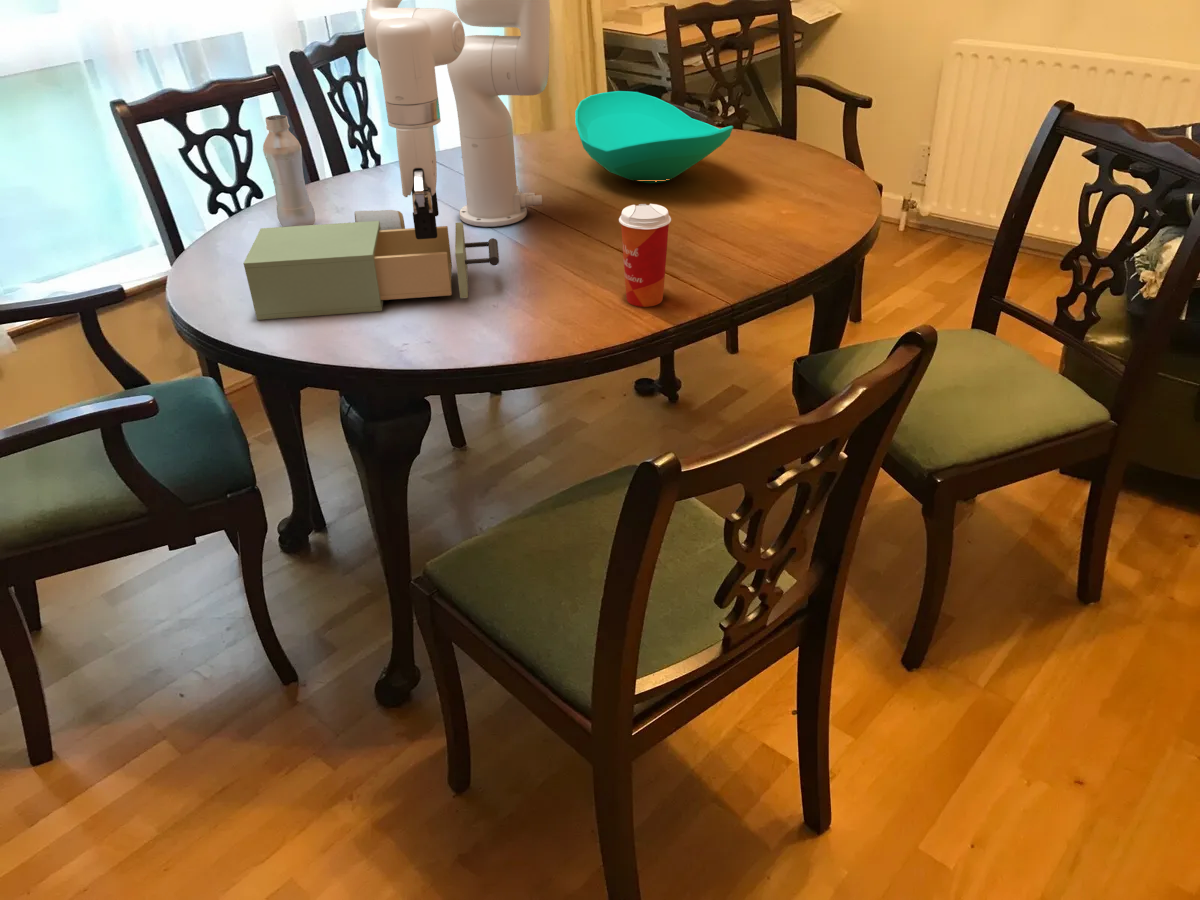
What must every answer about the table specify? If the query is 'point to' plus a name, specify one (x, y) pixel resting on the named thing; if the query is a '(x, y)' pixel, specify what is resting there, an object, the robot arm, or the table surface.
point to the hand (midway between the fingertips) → (427, 226)
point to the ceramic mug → (382, 218)
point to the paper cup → (644, 252)
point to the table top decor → (643, 135)
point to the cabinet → (314, 270)
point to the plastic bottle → (287, 173)
